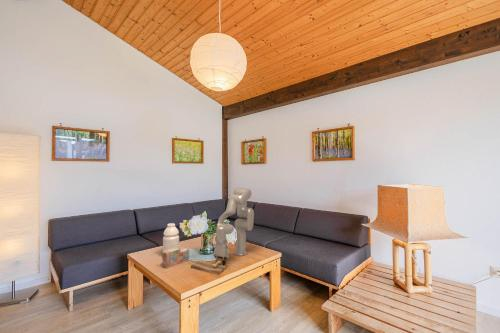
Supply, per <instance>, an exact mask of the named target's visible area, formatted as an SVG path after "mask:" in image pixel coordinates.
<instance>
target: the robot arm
mask: <svg viewBox="0 0 500 333" xmlns="http://www.w3.org/2000/svg"><path fill="white" fill-rule="evenodd" d="M251 197H252V189H250V188H242V187H238V188H237V187H236V188H233V192H232V194H230V195H229V197H228V201H227V205H226V209H225V212H223V213H221V215H220V216H219V218H218V219H217V220H218V221H217V225H216V230H215V232H216V236H215V237H216V240H215V245H214V252H213V253H212V254H213V256H214V258H215V263H216V262H217V258H218V257H219V256H220V257H223V266H226V263H227V262H226V260H227V259H228V258H230V255H229V252H228V244H227V243H228V241H227V240H226V239H227V235H230V234H232V233H233V232H234V230H235V229H236V231H237V240H236V242H235V241H234V242H235V247H234V248H235V250H233V255H235V256H238V257H239V256H240V257H241V256H246V255H248V251H247V250H246V249H247V248H248V246H247V244H246V243H247V240H246V239H247V236H246V235H247V234H246V232H248V231H249V232H250V231H252V230H253V228H254V221H255V220H254V219H255V211H254V209H253V208H251V207H247V206H248V201H249V199H250V198H251ZM235 214H237V217H238V218H237V219H235V221H234V226H233V225H232V224H227V223H224V222H225V220H226V219H228V217H231V216H233V215H235ZM244 218H245V219H244Z"/></svg>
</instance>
